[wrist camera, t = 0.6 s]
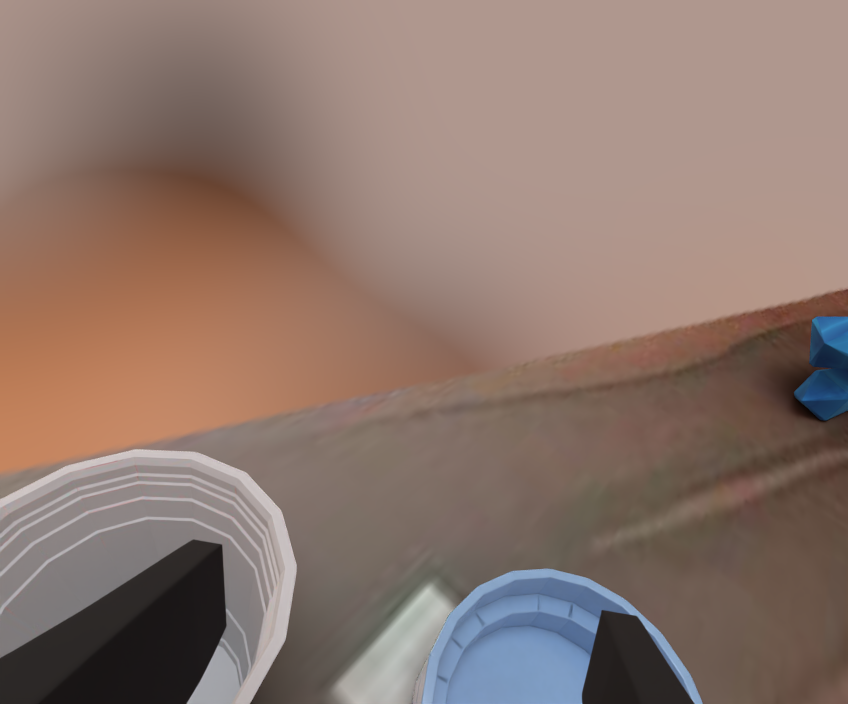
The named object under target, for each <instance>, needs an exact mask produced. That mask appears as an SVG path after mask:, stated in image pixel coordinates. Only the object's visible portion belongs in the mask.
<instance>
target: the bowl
mask: <svg viewBox="0 0 848 704" xmlns="http://www.w3.org/2000/svg"><path fill="white" fill-rule="evenodd" d="M602 610H606V611H612V612H617V613H623V614H629V615H635V616H637V617H638V618H639V619H640V621H641V622H642V623H643V625H644V626H645V628H646V630H647V631H648V633H649V634H650V636H651V637H652V639H653V641H654V642H655V644H656V645H657V647H658V648H659V650H660V652H661V653H662V655H663V656H664V658H665V659H666V661H667V662H668V664H669V666H670V667H671V669H672V670H673V672H674V673H675V675H676V676H677V678H678V679H679V681H680V682H681V684H682V685H683V687H684V688H685V690H686V691H687V693H688V694H689V696H690V697H691V699H692V700H693V702H694V703H695V704H703V703H702V700H701V698H700V696H699V693H698V691H697V689H696V686H695V684H694V681H693V679H692V677H691V675H690V673H689V672H688V671H687V669H686V668H685V666H684V665H683V663H682V662H681V660H680V659H679V658H678V656H677V655H676V653H675V652H674V650H673V649H672V648H671V646H670V645H669V643H668V642H667V640H666V639H665V637H664V636H663V635H662V633H660V631H659V630H658V629H657V628H656V627H655V626H654V625H653V624H651V623H650V622H649V621H648V620H647V619H646V618H645V617H644V616H643V615H642V614H641V613H640V612H639V611H637V610H636V609H635V608H634V607H633V606H632V605H631V604H630V603H629V602H628V601H627V600H625V599H624V598H622V597H620V596H619V595H617V594H615V593H613V592H611V591H610V590H608V589H606V588H604V587H603V586H601V585H599V584H597V583H596V582H594V581H592V580H590V579H587V578H585V577H581V576H577V575H573V574H569V573H565V572H561V571H557V570H553V569H534V570H520V571H511V572H508V573H506V574H504V575H502V576H499V577H497V578H495V579H493V580H490V581H488V582H486V583H484V584H482V585H479V586H478V587H476V588H475V589H474V590H473V591H472V592H471V593H470V594H469V595H468V596H467V597H466V598H465V599H464V600H463V601H462V602H461V603H460V604H459V605H458V606H457V607H456V608H455V609H454V610H453V611H452V612H451V613H450V614H449V616H448V618H447V620H446V622H445V624H444V626H443V627H442V629H441V631H440V633H439V635H438V637H437V639H436V641H435V643H434V645H433V647H432V649H431V651H430V654H429V656H428V658H427V660H426V662H425V664H424V666H423V668H422V670H421V672H420V674H419V676H418V678H417V680H416V681H417V682H416V684H415V690H414V695H413V701H412V704H582V691H583V687H584V682H585V678H586V674H587V670H588V666H589V661H590V657H591V653H592V649H593V645H594V640H595V636H596V632H597V628H598V624H599V619H600V615H601V611H602Z"/></svg>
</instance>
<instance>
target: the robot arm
mask: <svg viewBox="0 0 848 704" xmlns="http://www.w3.org/2000/svg"><path fill="white" fill-rule="evenodd" d="M226 627H227V623H226V605H225V586H224V567H223V549H222V544H217V543H212V542H206V541H200V540H194V539H193V540H191V541H189V542H188V543H186V544H185V545H183V546H181V547H180V548H178V549H176V550H175V551H173V552H172V553H170V554H169V555H167V556H166V557H164V558H162V559H161V560H159V561H158V562H156V563H155V564H153V565H152V566H150V567H149V568H147V569H146V570H144V571H143V572H141V573H139V574H138V575H136V576H135V577H133V578H132V579H130V580H129V581H127V582H126V583H124V584H122V585H121V586H119V587H118V588H116V589H115V590H113V591H111V592H110V593H108V594H107V595H105V596H103V597H102V598H100V599H99V600H97V601H96V602H94V603H92V604H91V605H89V606H88V607H86V608H85V609H83V610H81V611H80V612H78V613H76V614H75V615H73V616H71V617H70V618H68V619H66V620H64V621H63V622H61V623H59V624H58V625H56V626H54V627H53V628H51V629H49V630H48V631H46V632H44V633H42V634H41V635H39V636H37V637H36V638H34V639H32V640H31V641H29V642H27V643H25V644H24V645H22V646H20V647H19V648H17V649H15V650H13V651H12V652H10V653H8V654H6V655H4V656H3V657H1V658H0V704H187V702H188V701H189V699H190V697H191V696H192V694H193V692H194V691H195V689H196V687H197V686H198V684H199V683H200V681H201V679H202V677H203V675H204V673H205V671H206V669H207V667H208V665H209V663H210V661H211V659H212V657H213V655H214V653H215V650H216V648H217V646H218V644H219V642H220V640H221V638H222V635H223V633H224V631H225V629H226ZM582 704H695V703H694V702H693V700H692V699H691V697H690V696H689V694H688V693H687V691H686V690H685V688H684V687H683V685H682V684H681V682H680V681H679V679H678V678H677V676H676V675H675V673H674V672H673V670H672V669H671V667H670V666H669V664H668V662H667V661H666V659H665V658H664V656H663V655H662V653H661V652H660V650H659V648H658V647H657V645H656V644H655V642H654V641H653V639H652V637H651V636H650V634H649V633H648V631H647V630H646V628H645V626H644V625H643V623H642V622H641V621H640V619H639V618H638V617H637V616H635V615H629V614H623V613H617V612H612V611H606V610H602V611H601V615H600V619H599V624H598V628H597V632H596V636H595V640H594V645H593V649H592V653H591V657H590V661H589V666H588V670H587V674H586V678H585V682H584V687H583V691H582Z"/></svg>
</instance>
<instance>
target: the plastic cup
mask: <svg viewBox="0 0 848 704" xmlns="http://www.w3.org/2000/svg"><path fill="white" fill-rule="evenodd" d="M193 539H194V540H200V541H206V542H212V543H217V544H222V549H223V567H224V586H225V605H226V623H227V627H226V629H225V631H224V633H223V635H222V638H221V640H220V642H219V644H218V646H217V648H216V650H215V653H214V655H213V657H212V659H211V661H210V663H209V665H208V667H207V669H206V671H205V673H204V675H203V677H202V679H201V681H200V683H199V684H198V686H197V687H196V689H195V691H194V692H193V694H192V696H191V697H190V699H189V701H188V702H187V704H250V703H251V701H252V699H253V697H254V695H255V694H256V692H257V690H258V688H259V686H260V685H261V683H262V681H263V679H264V678H265V676H266V674H267V672H268V670H269V669H270V667H271V665H272V663H273V661H274V660H275V658H276V656H277V654H278V652H279V651H280V649H281V647H282V645H283V643H284V642H285V640H286V634H287V628H288V622H289V615H290V609H291V603H292V596H293V590H294V584H295V578H296V571H297V565H296V561H295V558H294V554H293V550H292V547H291V543H290V540H289V536H288V532H287V529H286V525H285V521H284V518H283V514H282V511H281V510H280V509H279V508H278V507H277V505H276V504H275V503H274V502H273V501H272V500H271V499H270V498H269V497H268V496H267V495H266V494H265V492H264V491H263V490H262V489H261V488H260V487H259V486H258V485H257V484H256V483H255V482H254V481H253V479H252V478H251V477H250V476H249V475H248V474H247V473H246V472H244V471H241V470H239V469H236V468H234V467H231V466H229V465H227V464H224V463H222V462H219V461H217V460H214V459H212V458H210V457H207V456H205V455H202V454H200V453H197V452H185V451H162V450H138V449H135V450H131V451H127V452H122V453H118V454H114V455H110V456H105V457H101V458H97V459H93V460H88V461H84V462H80V463H76V464H72V465H67V466H66V467H64V468H62V469H60V470H58V471H56V472H54V473H52V474H50V475H48V476H46V477H44V478H42V479H40V480H38V481H36V482H34V483H32V484H30V485H28V486H26V487H24V488H22V489H20V490H18V491H16V492H14V493H12V494H10V495H8V496H6V497H4V498H2V499H0V658H1V657H3V656H4V655H6V654H8V653H10V652H12V651H13V650H15V649H17V648H19V647H20V646H22V645H24V644H25V643H27V642H29V641H31V640H32V639H34V638H36V637H37V636H39V635H41V634H42V633H44V632H46V631H48V630H49V629H51V628H53V627H54V626H56V625H58V624H59V623H61V622H63V621H64V620H66V619H68V618H70V617H71V616H73V615H75V614H76V613H78V612H80V611H81V610H83V609H85V608H86V607H88V606H89V605H91V604H92V603H94V602H96V601H97V600H99V599H100V598H102V597H103V596H105V595H107V594H108V593H110V592H111V591H113V590H115V589H116V588H118V587H119V586H121V585H122V584H124V583H126V582H127V581H129V580H130V579H132V578H133V577H135V576H136V575H138V574H139V573H141V572H143V571H144V570H146V569H147V568H149V567H150V566H152V565H153V564H155V563H156V562H158V561H159V560H161V559H162V558H164V557H166V556H167V555H169V554H170V553H172V552H173V551H175V550H176V549H178V548H180V547H181V546H183V545H185V544H186V543H188V542H189V541H191V540H193Z"/></svg>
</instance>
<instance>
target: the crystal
mask: <svg viewBox="0 0 848 704" xmlns="http://www.w3.org/2000/svg"><path fill="white" fill-rule="evenodd" d="M809 363H810V364H811V365H812V366H813V367H824V368H832V369H824V370H816V371H815V372H814V373H813V374H812V375H811V376H810V377H809V378H808V379H807V380H806V381H805V382H804V383H803V384H802V385H801V386H800V387H799V388H798V389H797V390H796V391H795V392H794V396H795V397H796V398H797V399H798V400H799V401H800V402H801V403H802V404H803V405H804V406H805V407H807V408H808V409H809V410H810V411H811V412H812V413H813V414H814V415H815V416H816V417H818V418H819V419H820V420H825V421H826V420H828V419H830V418H833V417H835V416H837V415H839V414H841V413H843V412H846V411H848V317H816V318H814V319H813V320H812V330H811V346H810V361H809Z"/></svg>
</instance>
